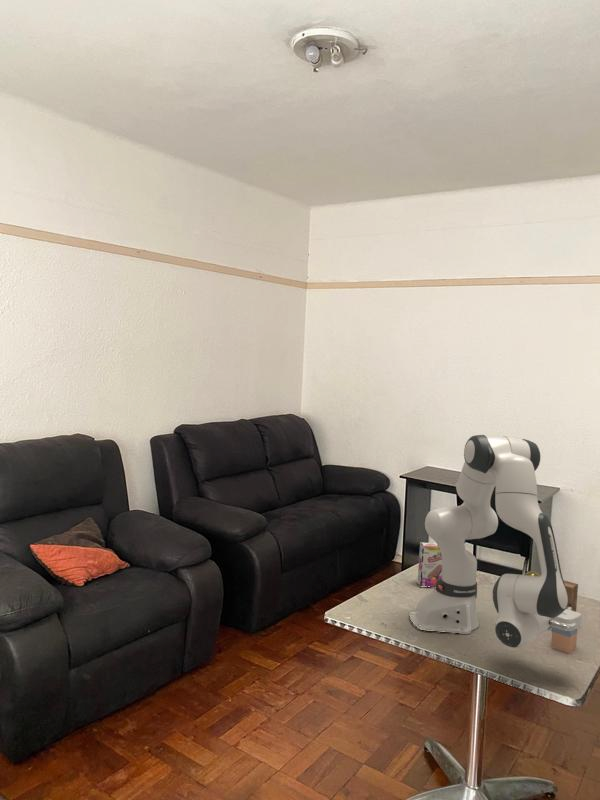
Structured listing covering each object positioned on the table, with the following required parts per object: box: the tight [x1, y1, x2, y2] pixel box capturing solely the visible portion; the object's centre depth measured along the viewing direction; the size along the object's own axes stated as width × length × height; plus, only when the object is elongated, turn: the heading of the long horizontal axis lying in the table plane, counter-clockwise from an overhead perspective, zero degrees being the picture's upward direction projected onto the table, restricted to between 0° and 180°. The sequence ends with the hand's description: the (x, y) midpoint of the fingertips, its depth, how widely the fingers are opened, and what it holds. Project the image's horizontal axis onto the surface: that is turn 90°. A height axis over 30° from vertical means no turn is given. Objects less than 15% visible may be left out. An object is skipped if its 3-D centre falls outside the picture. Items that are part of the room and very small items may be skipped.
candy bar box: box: [417, 542, 442, 587], centre depth 243 cm, size 11×5×16 cm, turn 94°
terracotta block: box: [550, 631, 578, 654], centre depth 195 cm, size 6×6×5 cm
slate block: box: [551, 627, 578, 637], centre depth 194 cm, size 6×6×5 cm
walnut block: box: [563, 579, 579, 612], centre depth 194 cm, size 4×4×10 cm
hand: (552, 604), depth 185 cm, fingers open, 8 cm apart
